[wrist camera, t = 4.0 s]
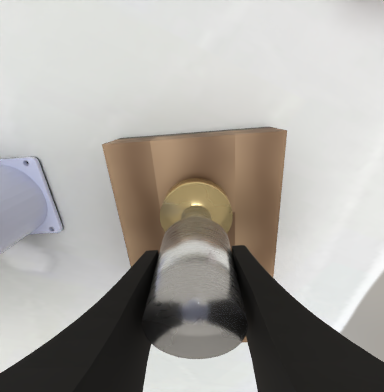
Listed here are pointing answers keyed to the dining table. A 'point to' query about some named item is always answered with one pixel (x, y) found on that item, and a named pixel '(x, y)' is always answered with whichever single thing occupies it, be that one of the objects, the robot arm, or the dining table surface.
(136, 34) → the dining table surface
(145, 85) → the dining table surface
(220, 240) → the peg
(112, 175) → the keyhole board
